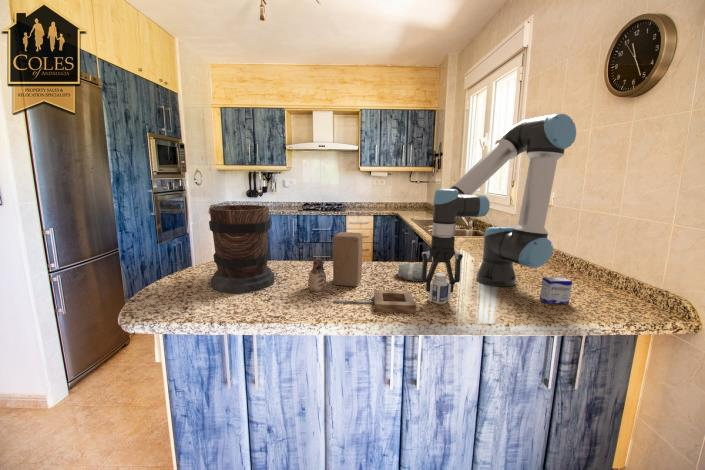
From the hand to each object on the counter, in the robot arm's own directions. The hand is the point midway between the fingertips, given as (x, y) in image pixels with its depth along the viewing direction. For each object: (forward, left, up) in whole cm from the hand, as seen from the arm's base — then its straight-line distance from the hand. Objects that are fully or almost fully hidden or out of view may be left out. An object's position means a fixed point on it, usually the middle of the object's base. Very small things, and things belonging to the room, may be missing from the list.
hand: (438, 300), depth 114 cm
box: (-41, -3, -1) cm, 41 cm away
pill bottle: (0, 0, -1) cm, 1 cm away
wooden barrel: (+75, -16, -1) cm, 77 cm away
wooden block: (+33, -17, -1) cm, 37 cm away
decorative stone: (+6, -27, -1) cm, 27 cm away
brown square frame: (+23, +4, 0) cm, 23 cm away
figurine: (+44, -9, -1) cm, 45 cm away
